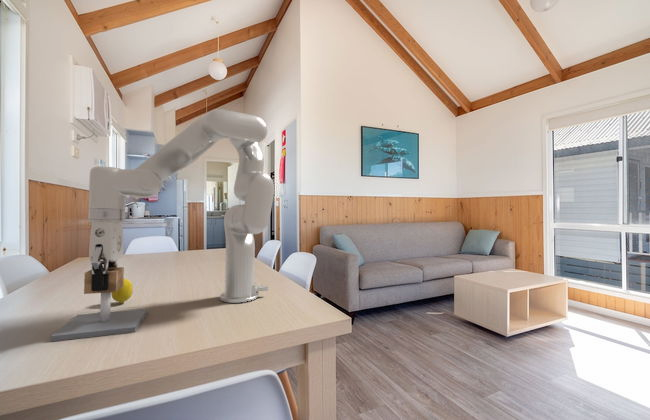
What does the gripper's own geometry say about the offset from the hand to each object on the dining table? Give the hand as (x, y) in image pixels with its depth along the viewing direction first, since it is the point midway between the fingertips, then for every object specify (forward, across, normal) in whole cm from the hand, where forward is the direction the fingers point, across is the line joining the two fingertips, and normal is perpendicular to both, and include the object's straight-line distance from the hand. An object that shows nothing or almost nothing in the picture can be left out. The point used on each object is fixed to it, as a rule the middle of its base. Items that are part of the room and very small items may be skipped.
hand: (104, 286), depth 74 cm
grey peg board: (+10, 0, 0) cm, 10 cm away
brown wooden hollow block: (+1, 0, 0) cm, 1 cm away
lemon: (+10, +19, +1) cm, 22 cm away
